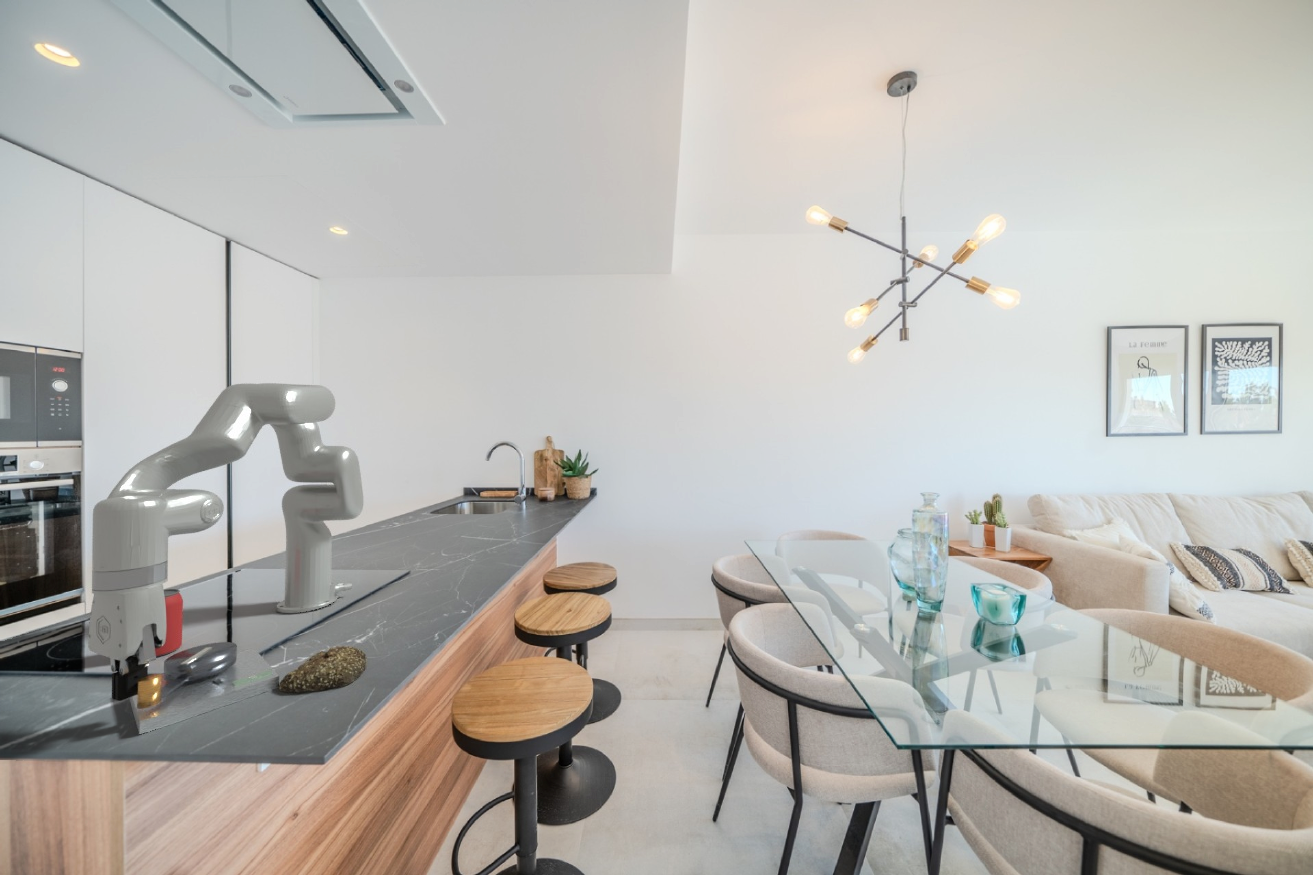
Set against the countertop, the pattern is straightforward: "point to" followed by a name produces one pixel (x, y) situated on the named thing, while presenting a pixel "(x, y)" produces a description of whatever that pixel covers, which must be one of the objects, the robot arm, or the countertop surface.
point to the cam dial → (186, 670)
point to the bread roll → (326, 670)
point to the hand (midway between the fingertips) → (129, 694)
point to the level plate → (208, 692)
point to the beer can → (172, 622)
